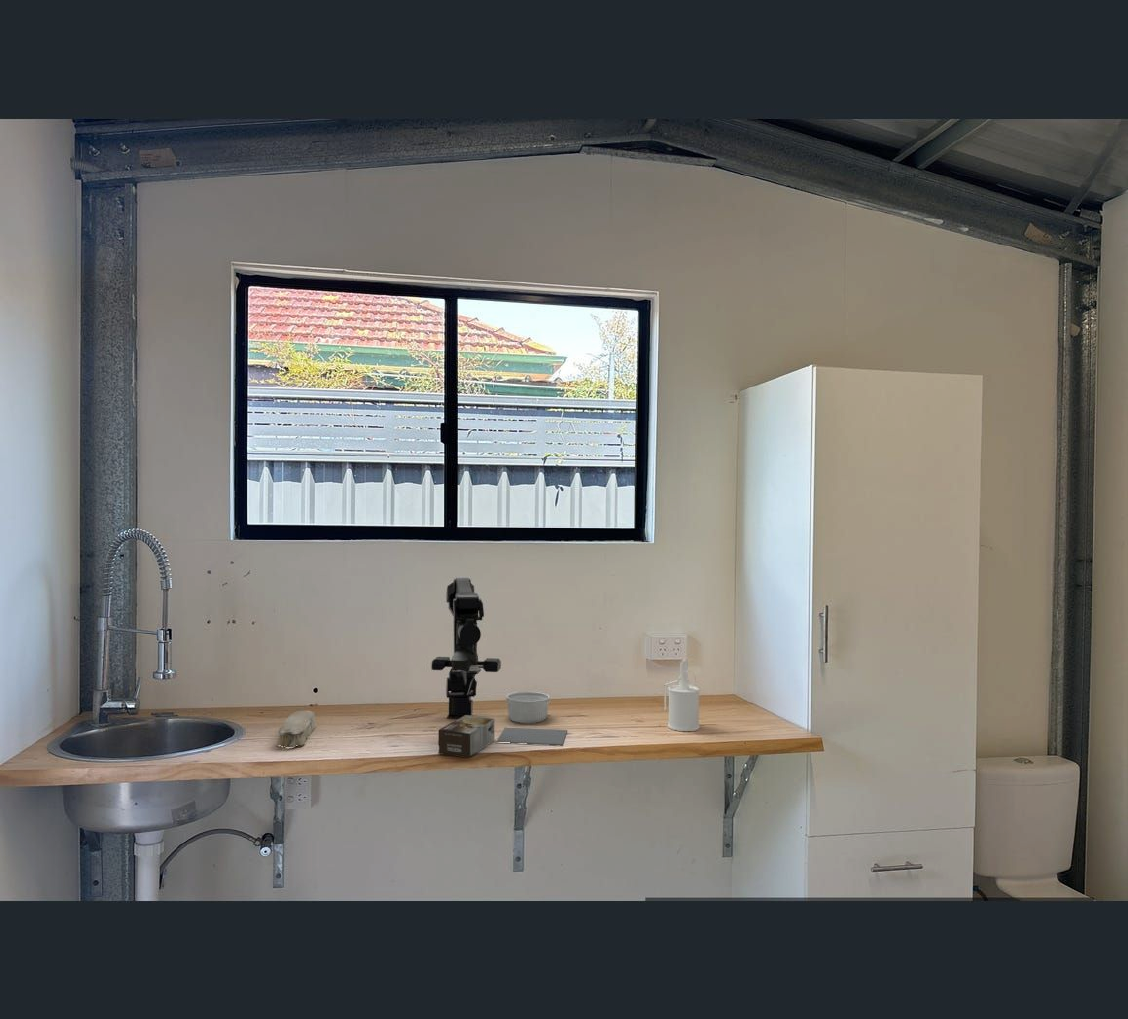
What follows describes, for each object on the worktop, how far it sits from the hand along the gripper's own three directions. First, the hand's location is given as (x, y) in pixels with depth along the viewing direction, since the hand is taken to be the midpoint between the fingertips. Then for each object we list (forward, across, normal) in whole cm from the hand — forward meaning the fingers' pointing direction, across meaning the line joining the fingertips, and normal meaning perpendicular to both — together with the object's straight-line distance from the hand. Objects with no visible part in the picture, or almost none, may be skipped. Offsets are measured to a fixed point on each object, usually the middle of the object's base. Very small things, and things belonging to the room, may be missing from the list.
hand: (465, 694), depth 218 cm
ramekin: (+11, +15, +19) cm, 27 cm away
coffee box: (+8, +5, -4) cm, 10 cm away
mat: (+11, +19, 0) cm, 22 cm away
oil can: (+11, +61, +16) cm, 64 cm away
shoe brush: (+12, -45, -8) cm, 47 cm away
